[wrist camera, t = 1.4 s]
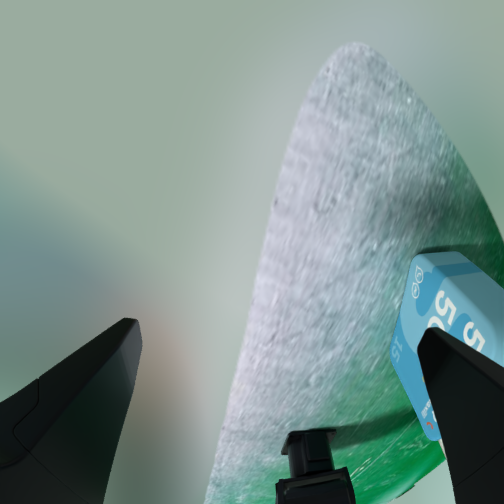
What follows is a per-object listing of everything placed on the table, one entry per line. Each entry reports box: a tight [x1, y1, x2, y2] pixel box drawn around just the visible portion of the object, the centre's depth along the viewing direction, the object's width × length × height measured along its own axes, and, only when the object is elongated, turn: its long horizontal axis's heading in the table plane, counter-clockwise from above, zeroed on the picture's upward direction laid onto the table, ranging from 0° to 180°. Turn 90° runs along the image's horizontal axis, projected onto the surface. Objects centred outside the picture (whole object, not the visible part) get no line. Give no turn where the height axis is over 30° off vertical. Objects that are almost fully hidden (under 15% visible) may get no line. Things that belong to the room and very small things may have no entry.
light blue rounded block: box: [390, 251, 504, 441], centre depth 18 cm, size 12×4×12 cm, turn 3°
